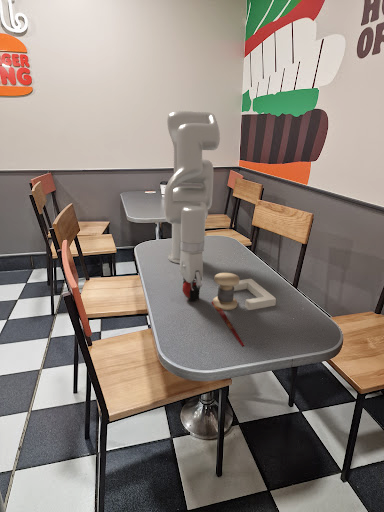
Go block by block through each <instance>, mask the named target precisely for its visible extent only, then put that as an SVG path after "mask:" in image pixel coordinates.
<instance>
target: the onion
mask: <svg viewBox="0 0 384 512" xmlns="http://www.w3.org/2000/svg"><path fill="white" fill-rule="evenodd" d="M195 280H196V279H194V280H193V281H195ZM194 285H196V283H193V286H194ZM181 289H182V293H183V294H184V295H185V297H187V298H188V299H190V290H191V284H190V283H188V282H187V281H185V283H184V284H183V283H182V288H181Z"/></svg>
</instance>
